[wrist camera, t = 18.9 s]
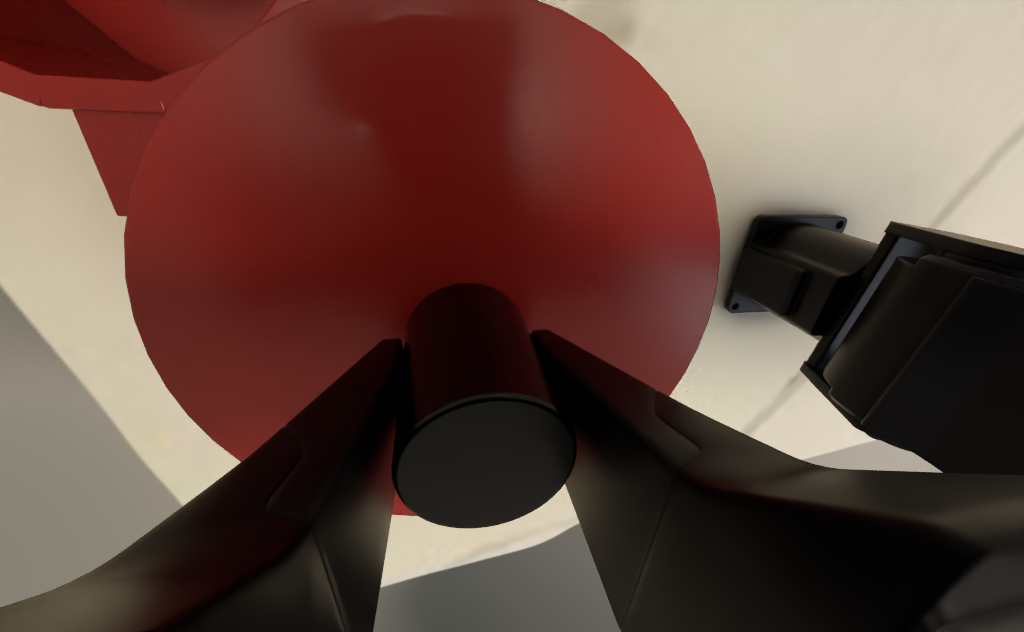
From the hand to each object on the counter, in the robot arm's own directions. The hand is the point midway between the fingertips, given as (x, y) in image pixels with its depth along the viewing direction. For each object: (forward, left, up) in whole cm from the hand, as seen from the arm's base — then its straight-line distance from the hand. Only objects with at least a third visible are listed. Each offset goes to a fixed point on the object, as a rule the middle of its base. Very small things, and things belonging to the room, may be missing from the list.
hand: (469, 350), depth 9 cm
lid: (0, 0, -1) cm, 1 cm away
